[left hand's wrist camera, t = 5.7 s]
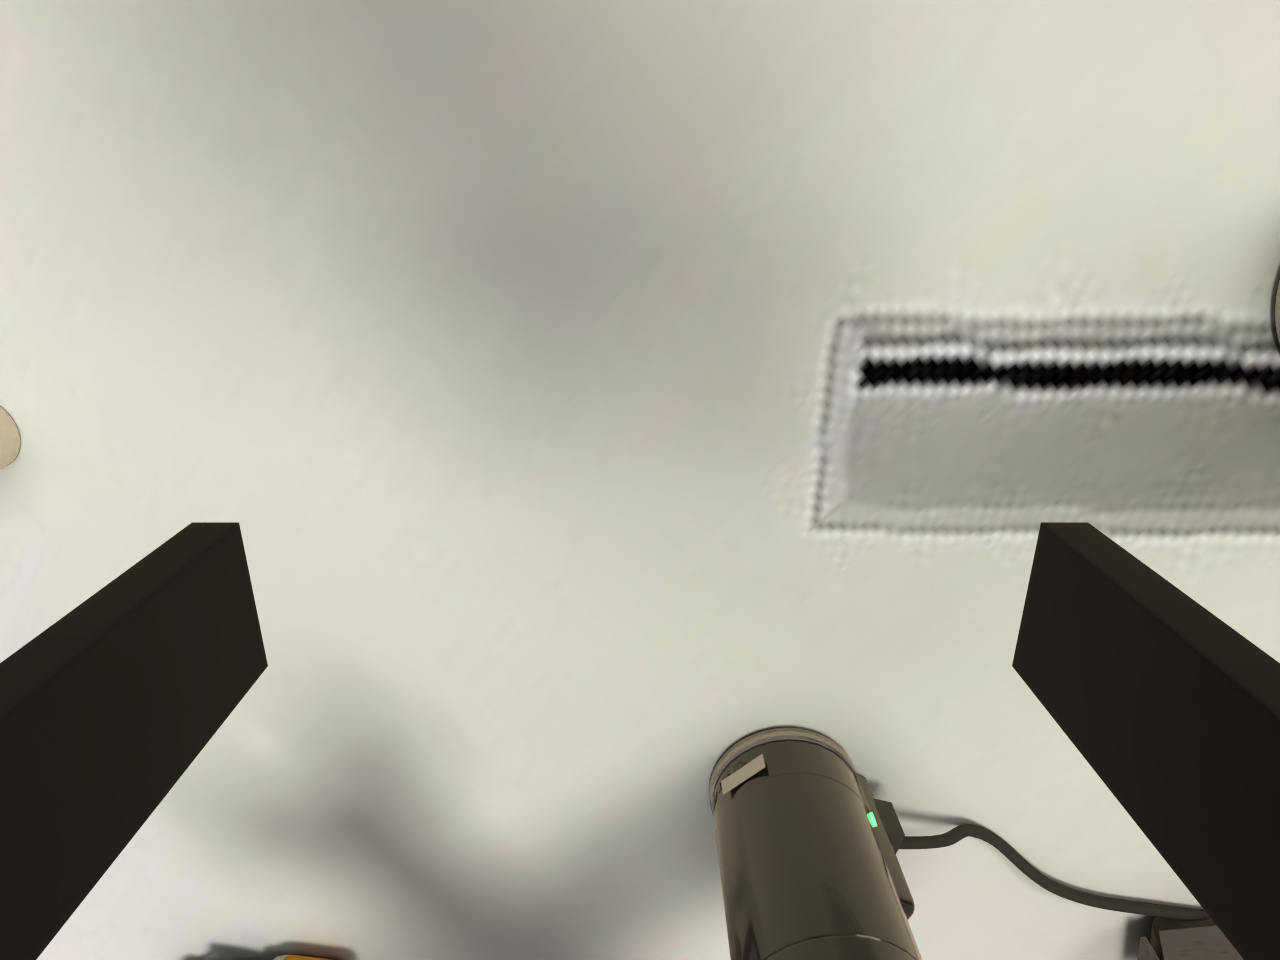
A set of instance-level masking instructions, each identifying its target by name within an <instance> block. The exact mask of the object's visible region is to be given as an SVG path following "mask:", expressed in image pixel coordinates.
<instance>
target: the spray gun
mask: <svg viewBox="0 0 1280 960" xmlns="http://www.w3.org/2000/svg"><path fill="white" fill-rule="evenodd" d="M273 960H332V959H324V958H316V957H307V956H299V955H283V956H277V957H276V958H275V959H273Z"/></svg>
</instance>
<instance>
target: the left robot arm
mask: <svg viewBox="0 0 1280 960" xmlns="http://www.w3.org/2000/svg"><path fill="white" fill-rule="evenodd" d="M267 666H268V664H267V660H266V655H265V650H264V645H263V640H262V635H261V630H260V625H259V620H258V615H257V610H256V605H255V600H254V595H253V590H252V585H251V580H250V575H249V570H248V565H247V560H246V555H245V550H244V545H243V540H242V536H241V531H240V526H239V523H191V524H190V525H188V526H187V527H185V528H184V529H183V530H181V531H180V532H179V533H177V534H176V535H175V536H173V537H172V538H170V539H169V540H168V541H166V542H165V543H164V544H162V545H161V546H160V547H158V548H157V549H155V550H154V551H153V552H151V553H150V554H149V555H147V556H146V557H145V558H143V559H142V560H140V561H139V562H138V563H136V564H135V565H134V566H132V567H131V568H130V569H128V570H127V571H126V572H124V573H123V574H121V575H120V576H119V577H117V578H116V579H115V580H113V581H112V582H111V583H109V584H108V585H106V586H105V587H104V588H102V589H101V590H100V591H98V592H97V593H96V594H94V595H93V596H91V597H90V598H89V599H87V600H86V601H85V602H83V603H82V604H81V605H79V606H78V607H76V608H75V609H74V610H72V611H71V612H70V613H68V614H67V615H66V616H64V617H63V618H61V619H60V620H59V621H57V622H56V623H55V624H53V625H52V626H51V627H49V628H48V629H46V630H45V631H44V632H42V633H41V634H40V635H38V636H37V637H36V638H34V639H33V640H31V641H30V642H29V643H27V644H26V645H25V646H23V647H22V648H21V649H19V650H18V651H16V652H15V653H14V654H12V655H11V656H10V657H8V658H7V659H6V660H4V661H3V662H1V663H0V960H36V959H37V958H38V957H39V955H40V954H41V953H42V952H43V950H44V949H45V948H46V947H47V945H48V944H49V943H50V942H51V940H52V939H53V938H54V936H55V935H56V934H57V933H58V931H59V930H60V929H61V928H62V926H63V925H64V924H65V922H66V921H67V920H68V919H69V917H70V916H71V915H72V914H73V912H74V911H75V910H76V909H77V907H78V906H79V905H80V903H81V902H82V901H83V900H84V898H85V897H86V896H87V895H88V893H89V892H90V891H91V890H92V888H93V887H94V886H95V884H96V883H97V882H98V881H99V879H100V878H101V877H102V876H103V874H104V873H105V872H106V871H107V869H108V868H109V867H110V865H111V864H112V863H113V862H114V860H115V859H116V858H117V857H118V855H119V854H120V853H121V851H122V850H123V849H124V848H125V846H126V845H127V844H128V843H129V841H130V840H131V839H132V838H133V836H134V835H135V834H136V832H137V831H138V830H139V829H140V827H141V826H142V825H143V824H144V822H145V821H146V820H147V819H148V817H149V816H150V815H151V813H152V812H153V811H154V810H155V808H156V807H157V806H158V805H159V803H160V802H161V801H162V799H163V798H164V797H165V796H166V794H167V793H168V792H169V791H170V789H171V788H172V787H173V786H174V784H175V783H176V782H177V780H178V779H179V778H180V777H181V775H182V774H183V773H184V772H185V770H186V769H187V768H188V767H189V765H190V764H191V763H192V761H193V760H194V759H195V758H196V756H197V755H198V754H199V753H200V751H201V750H202V749H203V748H204V746H205V745H206V744H207V742H208V741H209V740H210V739H211V737H212V736H213V735H214V734H215V732H216V731H217V730H218V728H219V727H220V726H221V725H222V723H223V722H224V721H225V720H226V718H227V717H228V716H229V715H230V713H231V712H232V711H233V709H234V708H235V707H236V706H237V704H238V703H239V702H240V701H241V699H242V698H243V697H244V696H245V694H246V693H247V692H248V690H249V689H250V688H251V687H252V685H253V684H254V683H255V682H256V680H257V679H258V678H259V676H260V675H261V674H262V673H263V671H264V670H265V669H266V668H267ZM1012 666H1013V668H1014V669H1015V670H1016V671H1017V673H1018V674H1019V675H1020V677H1021V678H1022V679H1023V680H1024V682H1025V683H1026V684H1027V685H1028V687H1029V688H1030V689H1031V690H1032V692H1033V693H1034V694H1035V696H1036V697H1037V698H1038V699H1039V701H1040V702H1041V703H1042V704H1043V706H1044V707H1045V708H1046V709H1047V711H1048V712H1049V713H1050V715H1051V716H1052V717H1053V718H1054V720H1055V721H1056V722H1057V723H1058V725H1059V726H1060V727H1061V728H1062V730H1063V731H1064V732H1065V734H1066V735H1067V736H1068V737H1069V739H1070V740H1071V741H1072V742H1073V744H1074V745H1075V746H1076V748H1077V749H1078V750H1079V751H1080V753H1081V754H1082V755H1083V756H1084V758H1085V759H1086V760H1087V761H1088V763H1089V764H1090V765H1091V767H1092V768H1093V769H1094V770H1095V772H1096V773H1097V774H1098V775H1099V777H1100V778H1101V779H1102V780H1103V782H1104V783H1105V784H1106V786H1107V787H1108V788H1109V789H1110V791H1111V792H1112V793H1113V794H1114V796H1115V797H1116V798H1117V799H1118V801H1119V802H1120V803H1121V805H1122V806H1123V807H1124V808H1125V810H1126V811H1127V812H1128V813H1129V815H1130V816H1131V817H1132V819H1133V820H1134V821H1135V822H1136V824H1137V825H1138V826H1139V827H1140V829H1141V830H1142V831H1143V832H1144V834H1145V835H1146V836H1147V838H1148V839H1149V840H1150V841H1151V843H1152V844H1153V845H1154V846H1155V848H1156V849H1157V850H1158V851H1159V853H1160V854H1161V855H1162V857H1163V858H1164V859H1165V860H1166V862H1167V863H1168V864H1169V865H1170V867H1171V868H1172V869H1173V871H1174V872H1175V873H1176V874H1177V876H1178V877H1179V878H1180V879H1181V881H1182V882H1183V883H1184V884H1185V886H1186V887H1187V888H1188V890H1189V891H1190V892H1191V893H1192V895H1193V896H1194V897H1195V898H1196V900H1197V901H1198V902H1199V903H1200V905H1201V906H1202V907H1203V909H1204V910H1205V911H1206V912H1207V914H1208V915H1209V916H1210V917H1211V919H1212V920H1213V921H1214V922H1215V924H1216V925H1217V926H1218V928H1219V929H1220V930H1221V931H1222V933H1223V934H1224V935H1225V936H1226V938H1227V939H1228V940H1229V942H1230V943H1231V944H1232V945H1233V947H1234V948H1235V949H1236V950H1237V952H1238V953H1239V954H1240V955H1241V957H1242V958H1243V959H1244V960H1280V663H1279V662H1277V661H1276V660H1274V659H1273V658H1272V657H1270V656H1269V655H1268V654H1266V653H1265V652H1264V651H1262V650H1261V649H1259V648H1258V647H1257V646H1255V645H1254V644H1253V643H1251V642H1250V641H1249V640H1247V639H1246V638H1244V637H1243V636H1242V635H1240V634H1239V633H1238V632H1236V631H1235V630H1234V629H1232V628H1231V627H1229V626H1228V625H1227V624H1225V623H1224V622H1223V621H1221V620H1220V619H1219V618H1217V617H1216V616H1214V615H1213V614H1212V613H1210V612H1209V611H1208V610H1206V609H1205V608H1204V607H1202V606H1201V605H1199V604H1198V603H1197V602H1195V601H1194V600H1193V599H1191V598H1190V597H1189V596H1187V595H1186V594H1184V593H1183V592H1182V591H1180V590H1179V589H1178V588H1176V587H1175V586H1174V585H1172V584H1171V583H1169V582H1168V581H1167V580H1165V579H1164V578H1163V577H1161V576H1160V575H1159V574H1157V573H1156V572H1154V571H1153V570H1152V569H1150V568H1149V567H1148V566H1146V565H1145V564H1144V563H1142V562H1141V561H1140V560H1138V559H1137V558H1135V557H1134V556H1133V555H1131V554H1130V553H1129V552H1127V551H1126V550H1125V549H1123V548H1122V547H1120V546H1119V545H1118V544H1116V543H1115V542H1114V541H1112V540H1111V539H1110V538H1108V537H1107V536H1105V535H1104V534H1103V533H1101V532H1100V531H1099V530H1097V529H1096V528H1095V527H1093V526H1092V525H1090V524H1089V523H1041V526H1040V531H1039V536H1038V540H1037V545H1036V550H1035V555H1034V560H1033V565H1032V570H1031V575H1030V580H1029V585H1028V590H1027V595H1026V600H1025V605H1024V610H1023V615H1022V620H1021V625H1020V630H1019V635H1018V640H1017V645H1016V650H1015V655H1014V660H1013V664H1012Z"/></svg>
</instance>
